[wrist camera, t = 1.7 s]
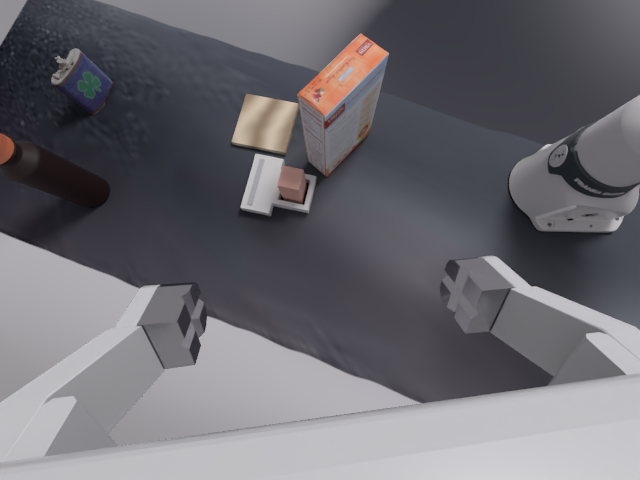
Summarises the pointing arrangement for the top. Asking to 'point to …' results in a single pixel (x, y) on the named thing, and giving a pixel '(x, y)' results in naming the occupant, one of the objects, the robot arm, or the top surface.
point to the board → (265, 124)
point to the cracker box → (341, 103)
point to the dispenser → (270, 188)
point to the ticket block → (292, 184)
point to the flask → (82, 81)
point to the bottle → (50, 173)
